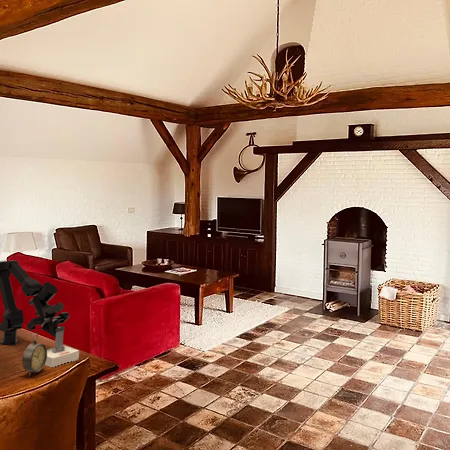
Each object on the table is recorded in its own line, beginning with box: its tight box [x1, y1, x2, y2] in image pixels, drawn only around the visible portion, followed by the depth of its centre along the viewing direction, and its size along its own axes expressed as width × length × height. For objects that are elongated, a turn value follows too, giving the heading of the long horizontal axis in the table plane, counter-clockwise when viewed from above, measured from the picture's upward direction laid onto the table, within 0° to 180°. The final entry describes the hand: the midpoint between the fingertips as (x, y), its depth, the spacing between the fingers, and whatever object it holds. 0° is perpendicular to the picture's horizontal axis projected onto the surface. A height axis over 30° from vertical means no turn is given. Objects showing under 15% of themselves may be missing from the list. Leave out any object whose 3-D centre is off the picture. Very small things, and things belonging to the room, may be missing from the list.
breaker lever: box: [54, 325, 66, 351], centre depth 203 cm, size 2×3×10 cm
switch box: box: [44, 345, 80, 368], centre depth 203 cm, size 10×14×6 cm
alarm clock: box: [21, 332, 48, 378], centre depth 187 cm, size 11×5×16 cm, turn 168°
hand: (57, 337), depth 203 cm, fingers closed
